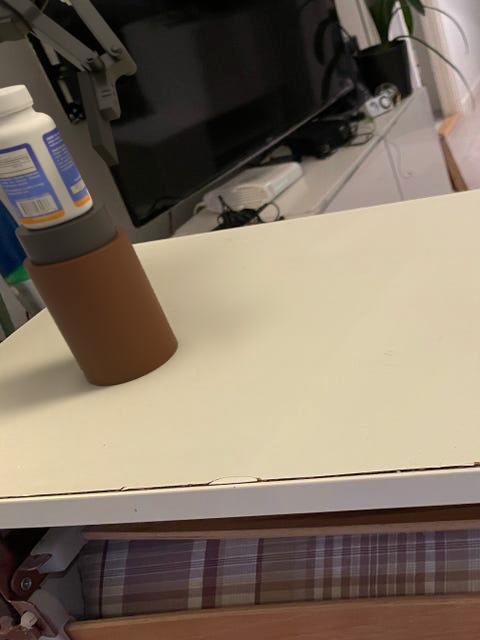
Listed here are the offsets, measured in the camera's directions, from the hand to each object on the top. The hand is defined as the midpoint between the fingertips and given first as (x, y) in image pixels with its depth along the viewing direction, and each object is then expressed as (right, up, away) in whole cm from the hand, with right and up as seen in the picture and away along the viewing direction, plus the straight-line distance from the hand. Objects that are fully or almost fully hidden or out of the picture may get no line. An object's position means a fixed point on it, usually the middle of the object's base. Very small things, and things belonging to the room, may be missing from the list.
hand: (24, 177), depth 57 cm
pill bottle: (0, -2, +5) cm, 5 cm away
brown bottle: (+3, -13, +11) cm, 18 cm away
